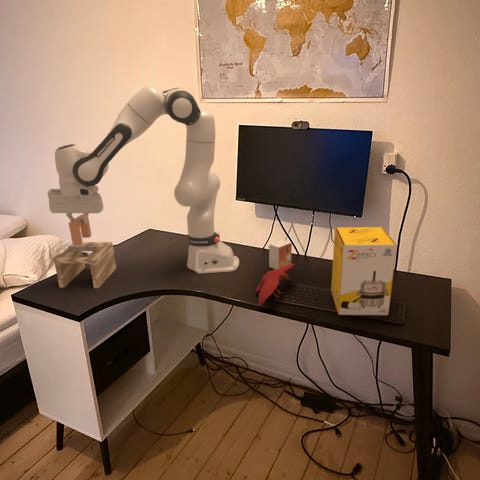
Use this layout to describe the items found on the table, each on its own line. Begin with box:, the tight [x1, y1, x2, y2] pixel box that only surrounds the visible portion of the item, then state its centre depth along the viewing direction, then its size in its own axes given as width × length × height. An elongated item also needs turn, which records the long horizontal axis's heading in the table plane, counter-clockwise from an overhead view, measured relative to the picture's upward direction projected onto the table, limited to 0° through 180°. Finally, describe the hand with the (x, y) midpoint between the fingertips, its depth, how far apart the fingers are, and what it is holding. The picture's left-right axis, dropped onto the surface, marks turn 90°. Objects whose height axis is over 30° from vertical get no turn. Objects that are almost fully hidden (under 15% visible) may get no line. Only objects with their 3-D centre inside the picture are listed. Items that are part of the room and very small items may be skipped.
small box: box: [268, 239, 293, 270], centre depth 169 cm, size 8×6×10 cm
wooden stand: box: [53, 241, 117, 289], centre depth 164 cm, size 16×18×14 cm
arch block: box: [68, 214, 92, 245], centre depth 159 cm, size 10×3×9 cm, turn 175°
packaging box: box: [330, 226, 398, 316], centre depth 137 cm, size 16×16×25 cm
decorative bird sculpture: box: [255, 263, 296, 307], centre depth 146 cm, size 28×9×15 cm
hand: (79, 223), depth 158 cm, fingers closed on arch block, 3 cm apart
